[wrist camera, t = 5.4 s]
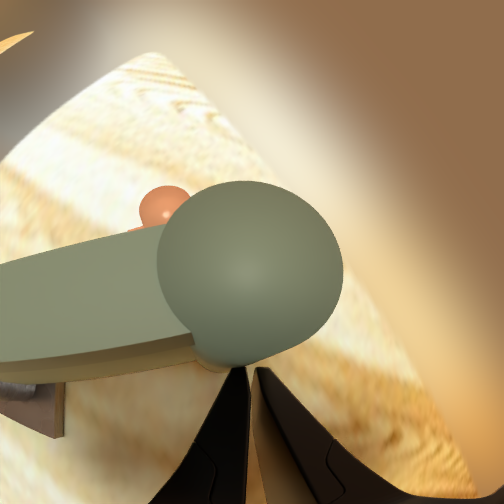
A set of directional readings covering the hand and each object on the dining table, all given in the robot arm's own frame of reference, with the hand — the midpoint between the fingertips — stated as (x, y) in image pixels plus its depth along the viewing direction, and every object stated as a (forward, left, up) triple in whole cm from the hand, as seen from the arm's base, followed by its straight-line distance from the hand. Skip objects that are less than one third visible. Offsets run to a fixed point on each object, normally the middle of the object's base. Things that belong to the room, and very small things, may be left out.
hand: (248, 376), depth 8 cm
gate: (+2, +5, -6) cm, 8 cm away
